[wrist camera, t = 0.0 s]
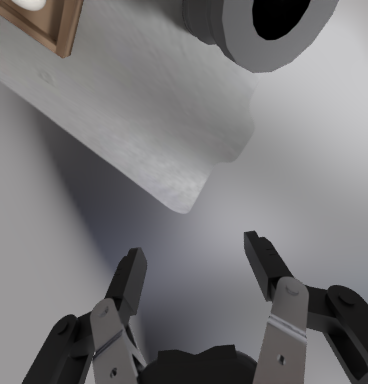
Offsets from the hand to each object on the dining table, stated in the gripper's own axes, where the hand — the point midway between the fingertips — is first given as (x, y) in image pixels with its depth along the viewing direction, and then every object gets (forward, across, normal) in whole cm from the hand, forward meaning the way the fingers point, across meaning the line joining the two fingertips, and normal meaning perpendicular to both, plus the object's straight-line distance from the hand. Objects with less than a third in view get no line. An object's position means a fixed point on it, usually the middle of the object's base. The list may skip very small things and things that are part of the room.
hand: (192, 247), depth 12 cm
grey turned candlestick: (+26, -7, -22) cm, 34 cm away
